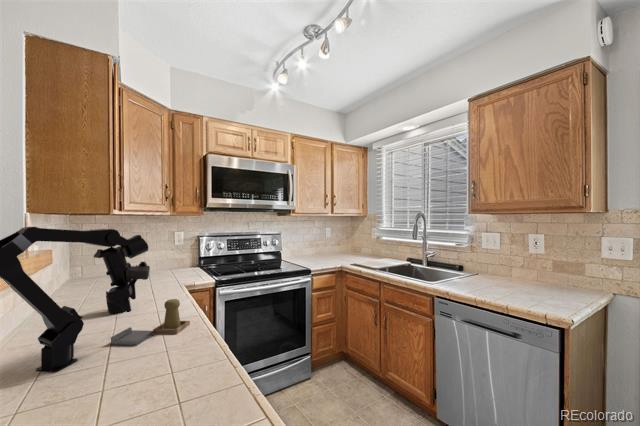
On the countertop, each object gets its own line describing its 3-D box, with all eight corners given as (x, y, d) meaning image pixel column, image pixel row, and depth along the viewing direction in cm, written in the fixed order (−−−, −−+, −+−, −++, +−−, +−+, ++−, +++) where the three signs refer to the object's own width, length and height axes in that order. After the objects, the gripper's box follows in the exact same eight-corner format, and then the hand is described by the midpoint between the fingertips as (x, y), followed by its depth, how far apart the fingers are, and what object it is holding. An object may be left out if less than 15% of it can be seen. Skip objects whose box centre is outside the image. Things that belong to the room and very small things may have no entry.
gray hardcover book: (136, 345, 94) (136, 337, 94) (110, 344, 95) (110, 337, 95) (153, 334, 103) (153, 327, 103) (129, 334, 103) (129, 327, 104)
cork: (173, 332, 105) (173, 302, 105) (159, 331, 106) (159, 301, 106) (184, 326, 111) (184, 297, 111) (170, 325, 112) (170, 297, 112)
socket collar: (176, 334, 104) (176, 329, 104) (153, 333, 104) (153, 329, 104) (189, 324, 113) (189, 320, 113) (167, 324, 113) (167, 320, 113)
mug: (132, 311, 129) (132, 289, 129) (108, 316, 122) (108, 292, 123) (125, 306, 137) (125, 284, 137) (102, 310, 131) (102, 288, 131)
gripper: (139, 267, 90) (154, 309, 95) (147, 249, 107) (159, 286, 111) (97, 278, 86) (115, 322, 91) (112, 258, 103) (126, 296, 107)
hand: (131, 305), depth 100 cm, fingers open, 9 cm apart
